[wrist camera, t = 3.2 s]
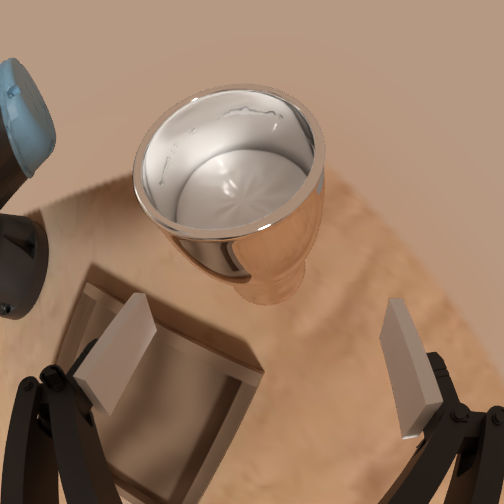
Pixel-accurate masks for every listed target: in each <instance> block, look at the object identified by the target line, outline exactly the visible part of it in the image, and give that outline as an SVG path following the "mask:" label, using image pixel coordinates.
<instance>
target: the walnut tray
mask: <svg viewBox="0 0 504 504" xmlns="http://www.w3.org/2000/svg"><path fill="white" fill-rule="evenodd" d="M125 303H126V302H125V301H123V300H121V299H120V298H118V297H116V296H115V295H113V294H111V293H110V292H108V291H106V290H105V289H103V288H102V287H100V286H97V285H95V284H92V283H89V282H87V283H86V285H85V287H84V290H83V292H82V295H81V297H80V299H79V302H78V304H77V307H76V309H75V312H74V314H73V317H72V320H71V322H70V325H69V328H68V331H67V333H66V336H65V339H64V342H63V345H62V348H61V351H60V354H59V357H58V360H57V363H56V365H58V366H60V367H61V369H62V370H63V372H64V373H65V375H66V374H67V372H68V371H69V369H70V368H71V367H72V365H73V364H74V362H75V361H76V360H77V358H79V355H80V354H81V353H82V352H83V350H84V348H85V347H86V346H87V344H88V343H90V342H91V341H92V340H94V339H95V338H97V339H99V338H100V337H101V336H102V334H103V333H104V331H105V330H106V329H107V327H108V326H109V325H110V323H111V322H112V321H113V319H114V318H115V317H116V315H117V314H118V313H119V311H120V310H121V309H122V307H123V306H124V305H125ZM153 320H154V323H155V326H156V329H157V331H156V333H155V334H154V336H153V338H152V340H151V341H150V343H149V345H148V347H147V349H146V350H145V352H144V354H143V356H142V358H141V359H140V361H139V363H138V365H137V367H136V369H135V370H134V372H133V374H132V376H131V378H130V380H129V381H128V383H127V385H126V387H125V389H124V391H123V393H122V395H121V397H120V398H119V400H118V402H117V404H116V406H115V408H114V410H113V412H112V414H111V416H109V415H106V414H103V413H100V412H98V411H97V410H96V408H95V407H94V406H92V408H91V411H92V413H93V416H94V420H95V424H96V428H97V432H98V435H99V439H100V442H101V445H102V449H103V452H104V455H105V458H106V461H107V464H108V467H109V470H110V473H111V476H112V478H113V481H114V484H115V486H116V489H117V491H118V494H119V495H120V496H122V497H123V498H125V499H126V500H128V501H129V502H131V503H132V504H198V503H199V501H200V499H201V498H202V496H203V494H204V492H205V490H206V489H207V487H208V485H209V483H210V481H211V480H212V478H213V476H214V474H215V472H216V470H217V468H218V467H219V465H220V463H221V461H222V459H223V457H224V455H225V453H226V451H227V449H228V447H229V445H230V443H231V442H232V440H233V438H234V436H235V434H236V432H237V430H238V428H239V426H240V423H241V421H242V419H243V417H244V415H245V413H246V411H247V409H248V407H249V405H250V403H251V401H252V399H253V396H254V394H255V392H256V390H257V388H258V386H259V384H260V381H261V379H262V377H263V375H264V373H265V372H264V371H262V370H260V369H257V368H255V367H253V366H250V365H248V364H246V363H243V362H241V361H239V360H237V359H234V358H232V357H230V356H228V355H226V354H224V353H221V352H219V351H217V350H215V349H213V348H211V347H209V346H207V345H205V344H203V343H201V342H199V341H196V340H194V339H192V338H190V337H189V336H187V335H185V334H183V333H181V332H179V331H177V330H175V329H173V328H171V327H169V326H167V325H165V324H164V323H162V322H160V321H158V320H156V319H154V318H153Z"/></svg>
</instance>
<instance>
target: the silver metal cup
mask: <svg viewBox="0 0 504 504" xmlns="http://www.w3.org/2000/svg"><path fill="white" fill-rule="evenodd" d="M324 161H325V141H324V136H323V133H322V130H321V127H320V125H319V123H318V121H317V120H316V118H315V117H314V115H313V114H312V113H311V111H310V110H309V109H308V108H307V107H306V106H305V105H304V104H302V103H301V102H300V101H299V100H297V99H296V98H294V97H292V96H290V95H289V94H287V93H285V92H283V91H280V90H278V89H274V88H271V87H267V86H262V85H255V84H232V85H224V86H219V87H214V88H211V89H207V90H205V91H202V92H199V93H196V94H194V95H192V96H190V97H188V98H186V99H184V100H182V101H181V102H179V103H177V104H176V105H175V106H173V107H172V108H171V109H169V110H168V111H167V112H165V113H164V114H163V115H162V116H161V117H160V118H159V119H158V120H157V121H156V122H155V123H154V124H153V126H152V127H151V128H150V129H149V131H148V132H147V134H146V135H145V137H144V138H143V140H142V142H141V144H140V146H139V148H138V151H137V154H136V157H135V161H134V166H133V187H134V192H135V195H136V198H137V200H138V203H139V205H140V206H141V208H142V210H143V211H144V212H145V214H146V215H147V216H148V217H149V218H150V219H151V220H152V221H153V222H154V223H155V224H156V225H157V226H158V228H159V229H160V230H161V231H162V233H163V234H164V235H165V237H166V238H167V239H168V240H169V241H170V242H171V244H172V245H173V246H174V247H175V248H176V249H177V250H178V251H179V252H180V253H181V254H182V255H183V256H184V257H185V258H186V259H187V260H188V261H189V262H190V263H191V264H192V265H194V266H195V267H196V268H198V269H199V270H200V271H202V272H203V273H205V274H206V275H208V276H209V277H211V278H213V279H215V280H217V281H219V282H222V283H225V284H227V285H230V286H233V288H234V289H235V291H236V292H237V293H238V294H239V295H240V296H241V297H242V298H243V299H245V300H247V301H248V302H251V303H253V304H257V305H264V306H268V305H275V304H278V303H281V302H283V301H285V300H287V299H289V298H290V297H291V296H292V295H293V294H295V292H296V291H297V290H298V289H299V287H300V286H301V284H302V282H303V279H304V275H305V259H306V258H307V256H308V254H309V253H310V251H311V249H312V247H313V245H314V243H315V241H316V238H317V235H318V232H319V228H320V224H321V220H322V215H323V206H324V195H325V173H324Z"/></svg>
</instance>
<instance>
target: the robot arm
mask: <svg viewBox="0 0 504 504" xmlns="http://www.w3.org/2000/svg"><path fill="white" fill-rule="evenodd" d="M55 142H56V133H55V128H54V125H53V121H52V118H51V116H50V114H49V111H48V109H47V106H46V104H45V102H44V100H43V98H42V96H41V94H40V92H39V90H38V88H37V86H36V84H35V83H34V81H33V79H32V78H31V76H30V74H29V73H28V71H27V70H26V69H25V67H24V66H23V65H22V64H20V62H19V61H18V60H17V59H16V58H9V59H8V60H6V61H3V62H2V63H1V64H0V210H1V209H2V207H3V206H4V205H5V204H6V202H7V201H8V200H9V199H10V198H11V197H12V196H13V194H14V193H15V192H16V191H17V190H18V189H19V188H20V186H21V185H22V184H23V183H24V182H25V181H26V180H27V179H28V178H31V177H33V175H34V173H35V171H36V170H37V169H38V167H39V166H40V165H41V164H42V163H43V162H44V161H45V160H46V159H47V158H48V157H49V155H50V154H51V153H52V152H53V150H54V147H55ZM47 264H48V243H47V238H46V234H45V232H44V230H43V228H42V227H41V226H40V225H39V224H38V223H36V222H35V221H33V220H31V219H30V218H27V217H25V216H17V215H9V214H1V213H0V317H3V318H8V319H12V320H17V319H20V318H22V317H24V316H25V315H26V314H27V313H28V312H29V311H30V310H31V309H32V307H33V306H34V304H35V303H36V301H37V299H38V297H39V295H40V292H41V289H42V287H43V283H44V280H45V276H46V271H47ZM156 331H157V329H156V326H155V323H154V320H153V317H152V314H151V311H150V308H149V304H148V301H147V298H146V294H145V293H133V294H132V296H131V297H130V298H129V300H128V301H127V302H126V303H125V305H124V306H123V307H122V309H121V310H120V311H119V313H118V314H117V315H116V317H115V318H114V319H113V321H112V322H111V323H110V325H109V326H108V327H107V329H106V330H105V331H104V333H103V334H102V336H101V337H100V338H99V339H97V338H95V339H94V340H92V341H91V342H90V343H88V344H87V346H86V347H85V348H84V350H83V352H82V353H81V354H80V355H79V358H77V360H76V361H75V362H74V364H73V365H72V367H71V368H70V369H69V371H68V372H67V374H66V375H65V373H64V372H63V370H62V369H61V367H60V366H58V365H55V364H54V365H49V366H47V367H46V368H44V369H43V370H42V372H41V373H40V377H39V378H40V380H41V381H42V382H43V383H39V382H38V380H37V379H36V378H35V377H33V376H29V377H26V378H24V379H23V380H22V381H21V382H20V384H19V387H18V390H17V394H16V398H15V402H14V406H13V410H12V415H11V420H10V425H9V430H8V435H7V441H6V447H5V454H4V462H3V471H2V483H1V504H59V491H58V470H59V474H60V478H61V483H62V487H63V491H64V494H65V498H66V501H67V504H123V503H122V501H121V499H120V496H119V494H118V491H117V489H116V486H115V484H114V481H113V478H112V476H111V473H110V470H109V467H108V464H107V461H106V458H105V455H104V452H103V449H102V445H101V442H100V439H99V435H98V432H97V428H96V424H95V420H94V416H93V413H92V411H91V408H92V406H94V407H95V408H96V410H97V411H98V412H100V413H103V414H106V415H109V416H111V414H112V412H113V410H114V408H115V406H116V404H117V402H118V400H119V398H120V397H121V395H122V393H123V391H124V389H125V387H126V385H127V383H128V381H129V380H130V378H131V376H132V374H133V372H134V370H135V369H136V367H137V365H138V363H139V361H140V359H141V358H142V356H143V354H144V352H145V350H146V349H147V347H148V345H149V343H150V341H151V340H152V338H153V336H154V334H155V333H156ZM379 339H380V342H381V346H382V349H383V353H384V357H385V361H386V365H387V369H388V373H389V377H390V381H391V386H392V390H393V394H394V399H395V404H396V408H397V413H398V418H399V423H400V429H401V434H402V439H407V438H413V437H418V436H419V435H420V433H421V432H422V431H423V432H424V439H423V440H422V441H421V442H420V444H419V445H418V446H417V447H416V448H417V450H416V451H415V453H414V455H413V456H412V458H411V459H410V461H409V462H408V464H407V465H406V467H405V468H404V470H403V471H402V472H401V474H400V475H399V477H398V478H397V479H396V481H395V482H394V484H393V485H392V486H391V488H390V489H389V490H388V492H387V493H386V494H385V495H384V497H383V498H382V499H381V500H380V502H379V503H378V504H429V502H430V500H431V499H432V497H433V496H434V494H435V492H436V491H437V489H438V487H439V486H440V484H441V482H442V480H443V479H444V477H445V475H446V473H447V471H448V469H449V468H450V466H451V464H452V462H453V460H454V458H455V456H456V454H457V458H456V462H455V466H454V470H453V474H452V478H451V481H450V485H449V488H448V491H447V494H446V497H445V501H444V503H443V504H498V503H499V499H500V495H501V490H502V485H503V480H504V407H501V406H493V407H491V408H490V409H489V411H488V412H487V413H485V412H473V411H470V409H469V408H468V407H467V406H466V405H465V404H463V403H460V401H459V399H458V396H457V393H456V391H455V388H454V385H453V383H452V380H451V377H449V372H448V370H447V369H446V368H447V367H446V365H445V363H444V360H443V359H442V358H441V356H440V355H439V354H438V353H437V352H431V353H426V352H425V349H424V347H423V344H422V342H421V339H420V337H419V334H418V332H417V330H416V327H415V325H414V323H413V320H412V318H411V316H410V314H409V311H408V309H407V307H406V305H405V303H404V300H403V298H389V301H388V306H387V310H386V314H385V318H384V322H383V326H382V330H381V333H380V337H379ZM38 415H39V416H38ZM37 416H38V419H37Z"/></svg>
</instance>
